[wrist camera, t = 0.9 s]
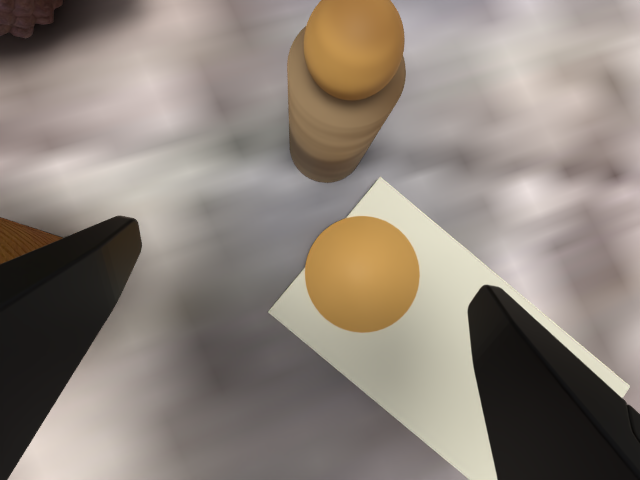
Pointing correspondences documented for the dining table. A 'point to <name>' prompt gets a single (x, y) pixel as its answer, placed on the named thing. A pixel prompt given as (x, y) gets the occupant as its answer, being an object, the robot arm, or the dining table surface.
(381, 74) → the orange ball tube
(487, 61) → the dining table surface
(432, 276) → the card
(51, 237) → the disposable coffee cup
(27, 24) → the pine cone
